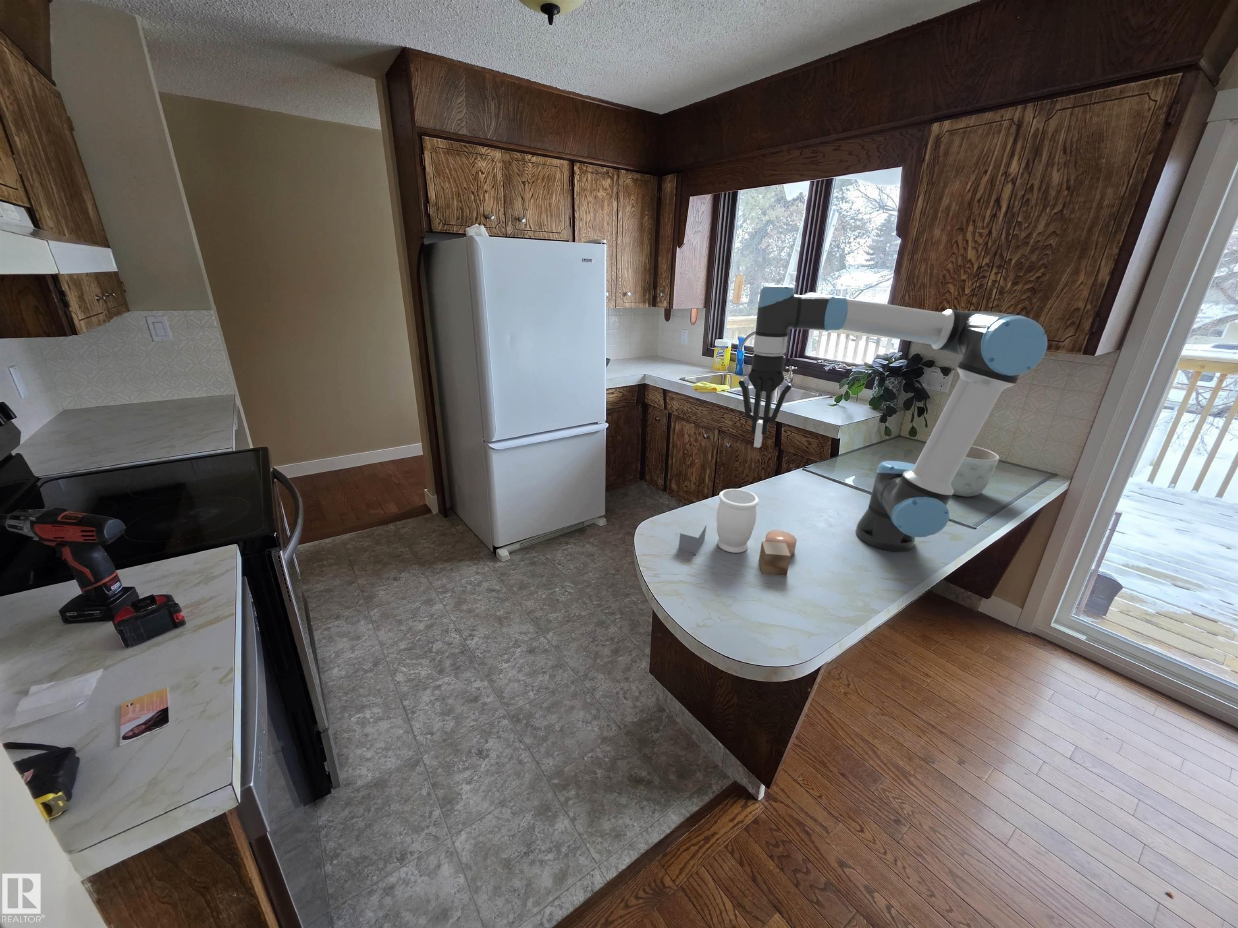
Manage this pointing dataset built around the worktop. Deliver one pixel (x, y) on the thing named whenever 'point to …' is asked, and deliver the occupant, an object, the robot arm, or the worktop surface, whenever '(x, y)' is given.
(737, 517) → the jar
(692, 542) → the slate block
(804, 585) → the worktop surface
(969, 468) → the planter
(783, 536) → the glossy peach dome
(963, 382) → the robot arm
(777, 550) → the walnut block
